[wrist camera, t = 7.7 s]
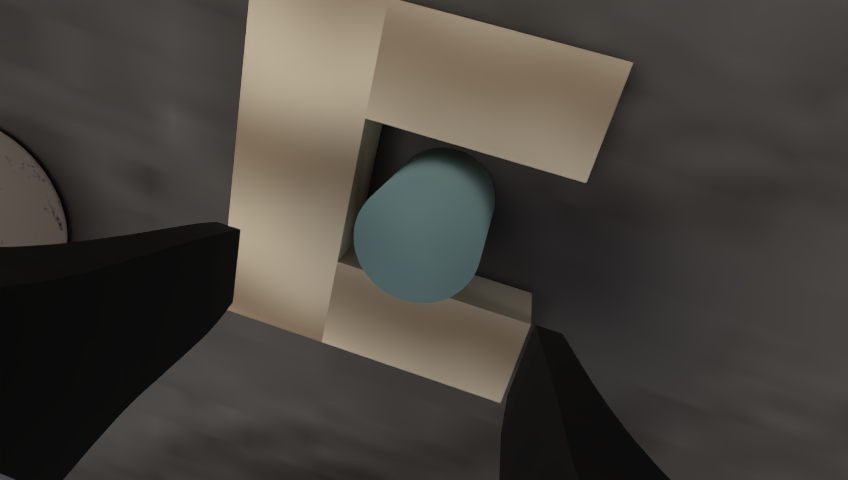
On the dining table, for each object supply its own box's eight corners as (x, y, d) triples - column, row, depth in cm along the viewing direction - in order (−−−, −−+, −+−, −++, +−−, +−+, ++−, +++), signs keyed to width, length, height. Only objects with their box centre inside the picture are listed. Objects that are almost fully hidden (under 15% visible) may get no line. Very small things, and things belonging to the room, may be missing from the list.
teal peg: (478, 257, 21) (461, 319, 16) (385, 228, 21) (343, 280, 17) (508, 164, 19) (498, 203, 15) (407, 134, 20) (367, 164, 15)
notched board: (504, 365, 22) (500, 403, 20) (251, 281, 24) (220, 307, 21) (621, 59, 17) (633, 62, 15) (288, -30, 18) (252, -39, 16)
